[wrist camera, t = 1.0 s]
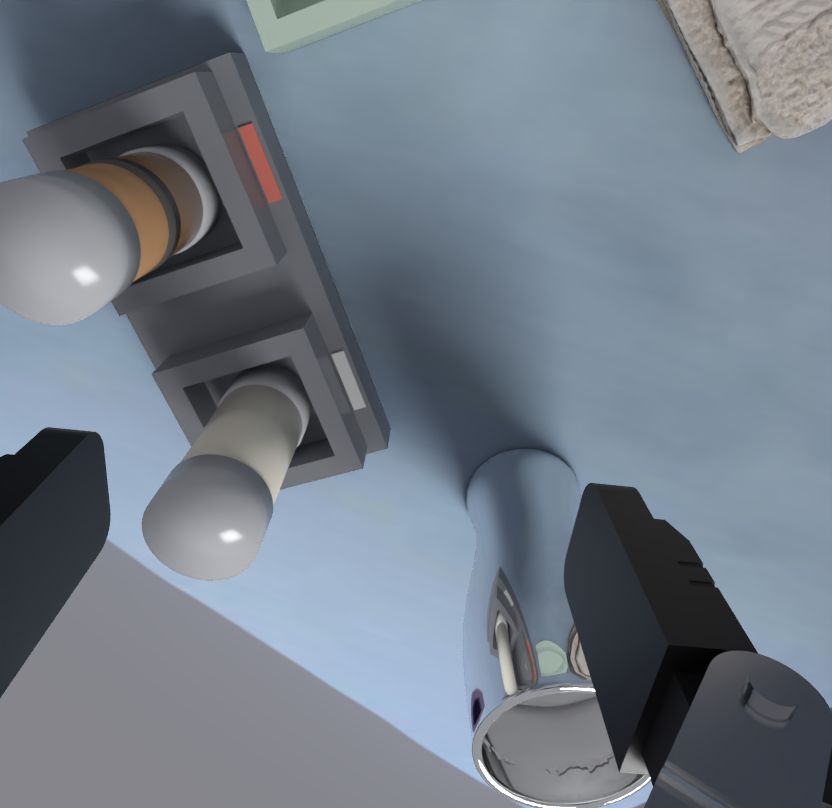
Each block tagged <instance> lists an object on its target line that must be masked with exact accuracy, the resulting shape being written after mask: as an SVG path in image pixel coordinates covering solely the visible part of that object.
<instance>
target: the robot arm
mask: <svg viewBox="0 0 832 808" xmlns="http://www.w3.org/2000/svg"><path fill="white" fill-rule="evenodd" d="M109 526H110V503H109V493H108V484H107V474H106V464H105V454H104V446H103V441H102V439H101V436H100V435H99V434H98V433H96V432H90V431H80V430H70V429H60V428H50V427H48V428H45V429H43V430H41V431H40V432H39V433H38V434H37V435H36V436H35V437H34V438H32V439H31V440H30V441H29V442H28V443H27V444H26V445H25V446H24V447H22V448H21V449H20V450H19V451H18V452H17V453H16V454H15V455H10V454H6V455H4V456H2V457H0V698H1V696H2V695H3V693H4V692H5V690H6V689H7V687H8V686H9V684H10V682H11V681H12V680H13V678H14V677H15V676H16V674H17V673H18V671H19V670H20V668H21V667H22V665H23V664H24V663H25V661H26V660H27V658H28V657H29V655H30V654H31V652H32V651H33V649H34V648H35V646H36V645H37V644H38V642H39V641H40V639H41V637H42V636H43V635H44V633H45V632H46V630H47V629H48V627H49V626H50V624H51V623H52V622H53V620H54V619H55V617H56V616H57V614H58V613H59V611H60V610H61V608H62V607H63V606H64V604H65V602H66V601H67V600H68V598H69V597H70V595H71V594H72V592H73V591H74V589H75V588H76V587H77V585H78V584H79V582H80V581H81V579H82V578H83V576H84V575H85V573H86V572H87V570H88V569H89V567H90V566H91V565H92V563H93V562H94V560H95V559H96V557H97V556H98V554H99V553H100V551H101V550H102V548H103V546H104V544H105V541H106V538H107V535H108V531H109ZM714 584H715V582H714V581H713V579H712V577H711V576H710V574H709V572H708V571H707V569H706V568H703V563H702V561H701V559H700V558H699V556H698V554H697V553H696V551H695V550H694V548H693V546H692V545H691V543H690V541H689V540H688V539H686V538H685V537H684V536H683V535H682V534H681V533H679V532H678V531H677V530H676V529H675V528H674V527H672V526H671V525H670V524H669V523H668V522H667V521H665V520H660V519H654V518H653V517H652V515H651V513H650V511H649V510H648V508H647V506H646V504H645V502H644V501H643V499H642V497H641V495H640V493H639V492H638V490H637V489H636V488H634V487H626V486H616V485H606V484H596V483H589V484H588V485H587V486H586V488H585V490H584V492H583V495H582V498H581V502H580V506H579V509H578V513H577V517H576V520H575V524H574V528H573V531H572V535H571V539H570V542H569V546H568V550H567V554H566V558H565V564H564V588H565V593H566V597H567V600H568V604H569V607H570V610H571V614H572V617H573V620H574V624H575V627H576V630H577V634H578V637H579V640H580V644H581V647H582V650H583V654H584V657H585V660H586V664H587V667H588V670H589V674H590V677H591V680H592V684H593V687H594V690H595V694H596V697H597V700H598V704H599V707H600V710H601V714H602V717H603V720H604V723H605V727H606V730H607V733H608V737H609V740H610V743H611V747H612V750H613V753H614V757H615V760H616V763H617V767H618V770H619V772H620V773H633V774H646V775H649V776H650V779H651V782H652V785H653V789H652V791H651V793H650V796H649V798H648V800H647V802H646V804H645V807H644V808H832V712H831V710H830V708H829V706H828V704H827V703H826V701H825V700H824V698H823V697H822V696H821V694H820V693H819V692H818V691H817V690H816V689H815V688H814V687H813V686H812V685H811V684H810V683H809V682H808V681H807V680H806V679H804V678H803V677H802V676H801V675H799V674H798V673H797V672H795V671H794V670H792V669H791V668H789V667H787V666H786V665H784V664H782V663H780V662H778V661H776V660H774V659H771V658H769V657H766V656H763V655H761V654H758V653H757V651H756V649H755V648H754V646H753V644H752V643H751V641H750V639H749V638H748V636H747V635H746V633H745V631H744V630H743V628H742V626H741V625H740V623H739V621H738V620H737V618H736V617H735V615H734V613H733V612H732V610H731V608H730V607H729V605H728V603H727V602H726V600H725V599H724V597H723V595H722V594H721V592H720V590H719V589H718V588H716V587H715V586H714Z"/></svg>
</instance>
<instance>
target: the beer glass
mask: <svg viewBox="0 0 832 808" xmlns="http://www.w3.org/2000/svg"><path fill="white" fill-rule="evenodd" d="M580 502H581V495H580V488H579V484H578V480H577V478H576V476H575V474H574V473H573V471H572V470H571V469H570V467H569V466H568V465H567V464H566V463H565V462H564V461H562V460H561V459H560V458H558V457H556V456H555V455H553V454H550V453H548V452H545V451H541V450H536V449H514V450H509V451H505V452H502V453H500V454H497V455H495V456H493V457H492V458H490V459H488V460H487V461H486V462H484V463H483V464H482V465H481V466H480V467H479V468H478V469H477V470H476V472H475V473H474V474H473V476H472V478H471V480H470V482H469V485H468V488H467V494H466V503H467V509H468V513H469V516H470V519H471V522H472V524H473V527H474V530H475V533H476V552H475V558H474V563H473V568H472V573H471V578H470V583H469V588H468V594H467V599H466V607H465V615H464V623H463V666H464V680H465V691H466V699H467V708H468V715H469V722H470V729H471V737H472V756H473V760H474V764H475V766H476V769H477V771H478V772H479V774H480V775H481V777H482V778H483V779H484V780H485V782H486V783H487V784H488V785H489V786H490V787H492V788H493V789H494V790H495V791H497V792H498V793H500V794H501V795H503V796H505V797H507V798H509V799H511V800H513V801H515V802H518V803H521V804H524V805H527V806H530V807H535V808H597V807H601V806H605V805H609V804H612V803H615V802H617V801H620V800H622V799H625V798H627V797H629V796H631V795H632V794H634V793H636V792H637V791H639V790H640V789H642V788H643V787H645V786H646V785H647V784H648V783H649V782H650V781H651V779H650V776H649V775H646V774H633V773H620V772H619V770H618V767H617V763H616V760H615V757H614V753H613V750H612V747H611V743H610V740H609V737H608V733H607V730H606V727H605V723H604V720H603V717H602V714H601V710H600V707H599V704H598V700H597V697H596V694H595V690H594V687H593V684H592V680H591V677H590V674H589V670H588V667H587V664H586V660H585V657H584V654H583V650H582V647H581V644H580V640H579V637H578V634H577V630H576V627H575V624H574V620H573V617H572V614H571V610H570V607H569V604H568V600H567V597H566V593H565V588H564V564H565V558H566V554H567V550H568V546H569V542H570V539H571V535H572V531H573V528H574V524H575V520H576V517H577V513H578V509H579V506H580Z"/></svg>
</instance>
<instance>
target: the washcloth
mask: <svg viewBox="0 0 832 808" xmlns="http://www.w3.org/2000/svg"><path fill="white" fill-rule="evenodd" d="M656 1H657V2H658V4H659V5H660V7H661V10H662V11H663V13H664V14H665V16H666V18H667V20H668V21H669V23H670V24H671V26H672V28H673V29H674V31H675V32H676V33H677V35H678V37H679V39H680V41H681V43H682V46H683V48H684V49H685V51H686V54H687V56H688V58H689V60H690V63H691V65H692V67H693V69H694V71H695V73H696V76H697V78H698V80H699V82H700V84H701V87H702V89H703V90H704V92H705V94H706V96H707V97H708V100H709V103H710V105H711V107H712V109H713V112H714V114H715V116H716V117H717V119H718V121H719V123H720V125H721V127H722V129H723V130H724V132H725V134H726V136H727V137H728V139H729V140H730V143H731V145H732V147H733V149H734V150H735V151H736V152H737V153H741V152H744V151H745V150H747V149H748V148H750V147H751V146H757V145H758V144H761V143H762V142H763V141H764V140H765V139H766V138H767V137H768V136H770V135H772V134H774V135H775V136H778V137H779V138H782V139H787V138H794V137H799V136H801V135H804V134H806V133H808V132H810V131H812V130H814V129H816V128H818V127H821V126H823V125H825V124H826V123H827V122H829V121H830V120H832V0H656Z"/></svg>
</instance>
